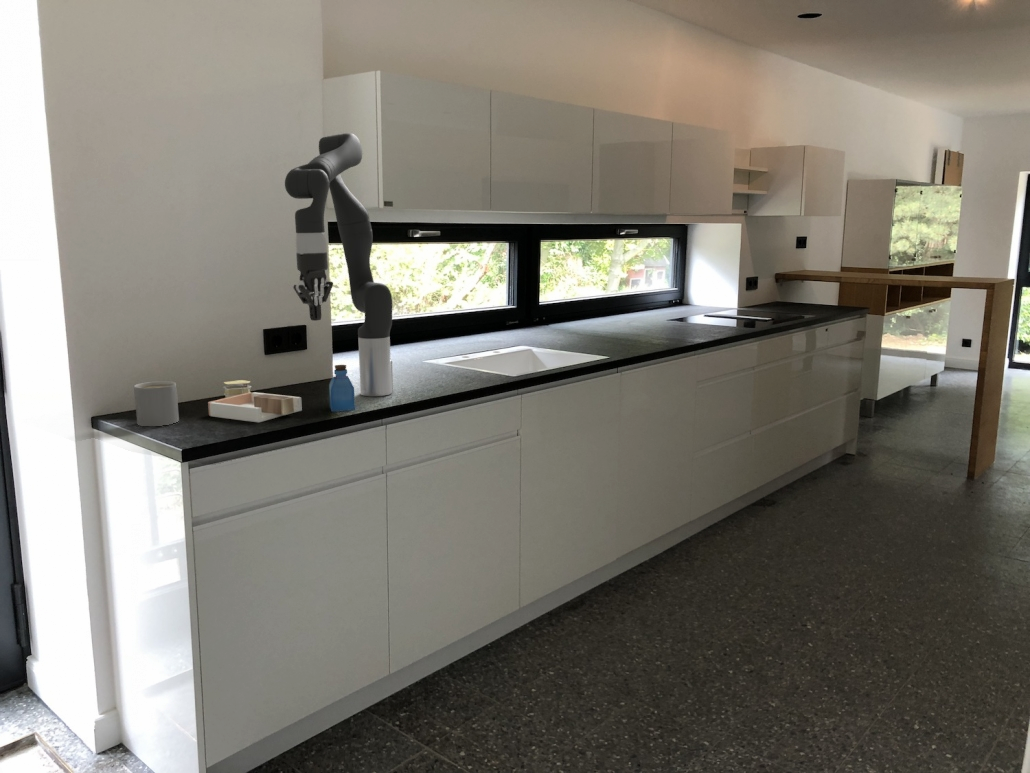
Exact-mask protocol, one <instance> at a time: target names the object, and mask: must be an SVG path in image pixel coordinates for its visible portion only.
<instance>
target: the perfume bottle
mask: <svg viewBox="0 0 1030 773" xmlns="http://www.w3.org/2000/svg"><path fill="white" fill-rule="evenodd" d="M347 374H348V369H347V365H346V364H336V365H334V375H335V376H332V378H331V379H330V382H329V385H328V389H329V391H328V392H329V407H330V410H331V412H333V413H334V412H347V411H348V412H349V411H356V403H355V401H356V400H355V387H354V385H353V383H352V381H351V379H350V378H349V376H348V375H347Z"/></svg>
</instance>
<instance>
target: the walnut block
mask: <svg viewBox="0 0 1030 773" xmlns="http://www.w3.org/2000/svg"><path fill="white" fill-rule="evenodd" d="M268 394H269V393H265V394H263V395H259V396H255V397H254V407H258V408H261V412H264V413H272V414H280V415H283V416H286V415H285V414H287V415H289V414H288V413H290V414H293V413H292V412H294V404H293V397H294V396H293V397H287V396H288V395H284V396H277V395H278V394H275V395H268ZM294 413H295V412H294Z"/></svg>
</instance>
